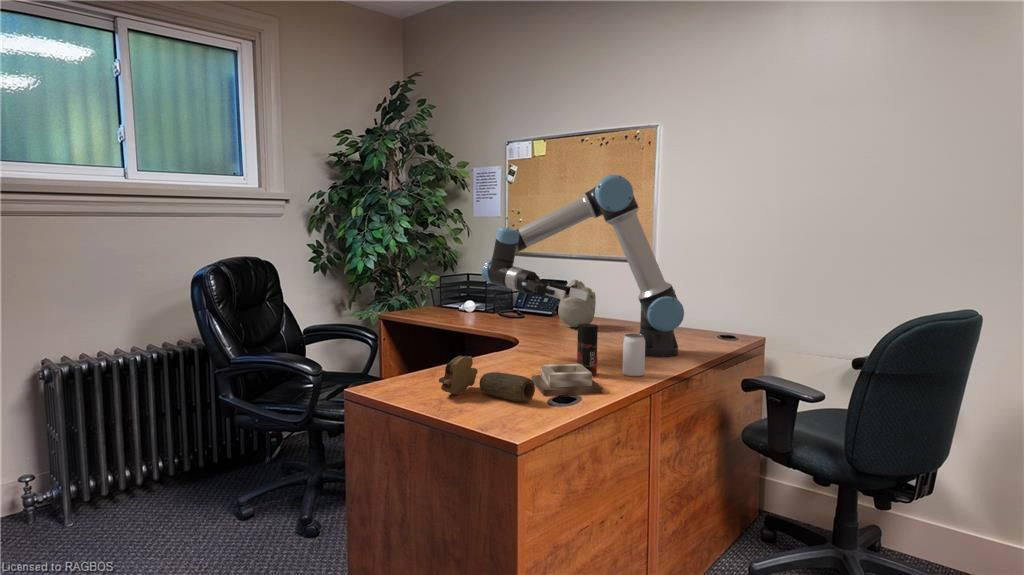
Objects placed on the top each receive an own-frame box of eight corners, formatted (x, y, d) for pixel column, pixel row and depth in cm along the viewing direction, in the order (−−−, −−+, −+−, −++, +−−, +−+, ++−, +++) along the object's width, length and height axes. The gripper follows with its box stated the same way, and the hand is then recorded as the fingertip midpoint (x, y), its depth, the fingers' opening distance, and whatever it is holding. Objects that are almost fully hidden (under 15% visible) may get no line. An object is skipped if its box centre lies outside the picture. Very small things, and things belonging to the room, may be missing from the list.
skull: (565, 324, 280) (566, 276, 278) (598, 326, 274) (599, 277, 272) (553, 330, 262) (553, 279, 259) (587, 332, 256) (588, 280, 254)
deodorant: (585, 371, 187) (586, 323, 186) (600, 374, 183) (601, 325, 182) (572, 374, 183) (573, 325, 182) (588, 377, 179) (589, 327, 178)
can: (644, 377, 180) (645, 337, 179) (622, 376, 181) (623, 336, 180) (644, 372, 186) (645, 333, 185) (622, 371, 187) (623, 333, 186)
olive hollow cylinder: (538, 400, 156) (538, 374, 155) (522, 406, 150) (523, 380, 149) (492, 391, 164) (492, 366, 164) (475, 396, 159) (475, 371, 158)
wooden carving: (463, 384, 170) (463, 349, 169) (478, 386, 169) (478, 350, 168) (435, 400, 155) (435, 361, 154) (451, 402, 153) (451, 363, 152)
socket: (585, 378, 178) (585, 361, 177) (602, 393, 162) (602, 374, 162) (531, 380, 175) (531, 363, 175) (543, 395, 160) (543, 376, 159)
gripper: (541, 292, 210) (593, 308, 197) (496, 290, 190) (551, 307, 178) (546, 271, 209) (598, 285, 197) (501, 267, 189) (556, 282, 177)
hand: (576, 296), depth 187 cm, fingers open, 13 cm apart
